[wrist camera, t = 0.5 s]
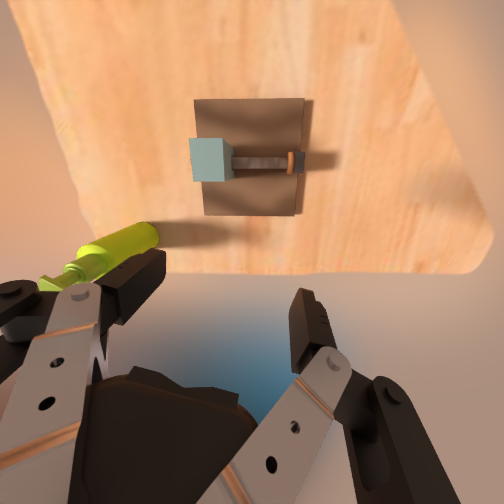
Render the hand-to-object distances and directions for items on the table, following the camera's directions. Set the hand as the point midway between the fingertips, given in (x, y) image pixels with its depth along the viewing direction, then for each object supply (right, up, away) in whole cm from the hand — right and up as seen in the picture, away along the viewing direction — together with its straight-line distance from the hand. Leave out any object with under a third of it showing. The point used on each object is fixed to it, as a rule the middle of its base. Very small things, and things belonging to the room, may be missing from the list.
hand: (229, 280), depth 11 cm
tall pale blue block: (-4, +17, +21) cm, 27 cm away
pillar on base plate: (+1, +17, +23) cm, 29 cm away
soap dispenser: (-21, +5, +29) cm, 36 cm away
